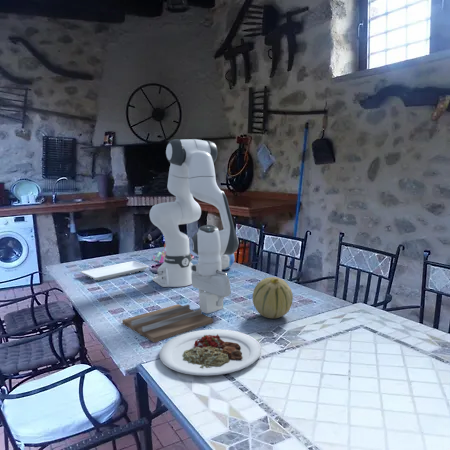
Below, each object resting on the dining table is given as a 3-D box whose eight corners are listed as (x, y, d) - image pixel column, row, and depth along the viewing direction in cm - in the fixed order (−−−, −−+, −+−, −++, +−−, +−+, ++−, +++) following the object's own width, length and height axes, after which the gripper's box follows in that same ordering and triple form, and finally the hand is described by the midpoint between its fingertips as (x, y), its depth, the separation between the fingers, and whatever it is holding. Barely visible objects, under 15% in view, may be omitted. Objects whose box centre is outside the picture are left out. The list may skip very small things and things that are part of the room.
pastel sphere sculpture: (200, 256, 258) (199, 242, 256) (181, 265, 236) (180, 249, 235) (164, 254, 268) (164, 240, 266) (143, 262, 246) (142, 247, 245)
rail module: (199, 310, 162) (199, 293, 161) (217, 305, 168) (216, 288, 167) (207, 313, 159) (206, 296, 158) (224, 308, 164) (223, 290, 163)
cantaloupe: (270, 307, 164) (269, 269, 161) (301, 316, 153) (301, 276, 151) (244, 317, 153) (243, 277, 151) (275, 327, 143) (275, 285, 141)
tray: (150, 271, 226) (149, 265, 225) (94, 284, 205) (94, 277, 205) (134, 266, 238) (133, 260, 238) (80, 277, 218) (79, 271, 217)
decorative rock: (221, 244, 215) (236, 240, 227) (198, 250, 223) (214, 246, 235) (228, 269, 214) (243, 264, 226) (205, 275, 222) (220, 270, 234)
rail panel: (122, 324, 151) (122, 316, 151) (178, 307, 166) (178, 300, 166) (154, 342, 134) (153, 333, 134) (213, 322, 150) (212, 314, 149)
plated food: (188, 393, 105) (188, 380, 104) (144, 350, 130) (143, 339, 129) (282, 360, 120) (282, 349, 120) (226, 327, 145) (226, 318, 145)
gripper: (234, 271, 155) (235, 307, 157) (200, 262, 170) (202, 295, 172) (220, 274, 151) (222, 311, 153) (188, 265, 166) (189, 299, 168)
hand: (211, 303), depth 163 cm, fingers open, 8 cm apart
